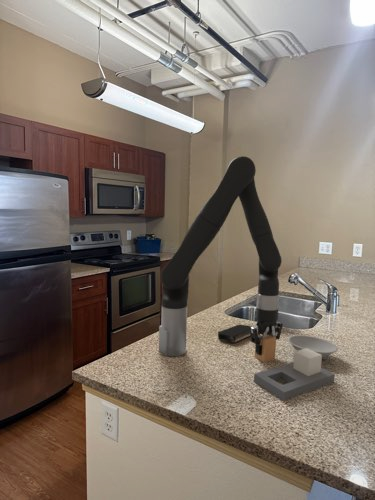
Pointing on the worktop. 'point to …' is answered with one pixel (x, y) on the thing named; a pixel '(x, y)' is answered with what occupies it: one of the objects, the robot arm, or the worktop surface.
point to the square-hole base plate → (295, 375)
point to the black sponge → (234, 333)
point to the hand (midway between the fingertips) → (265, 352)
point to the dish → (312, 344)
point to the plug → (267, 349)
